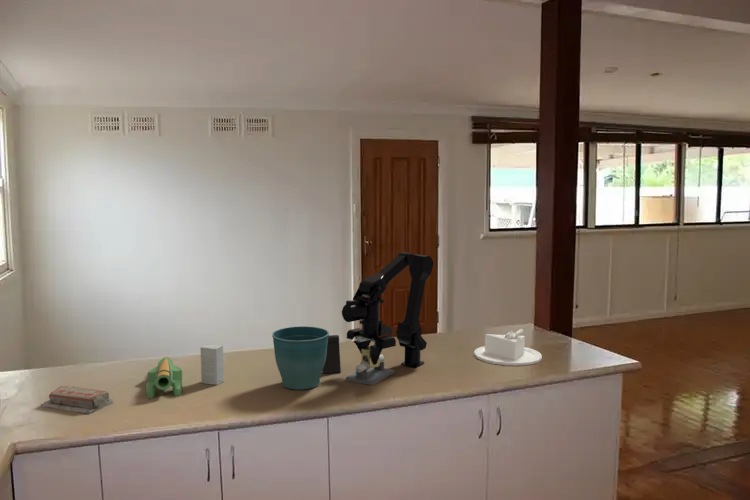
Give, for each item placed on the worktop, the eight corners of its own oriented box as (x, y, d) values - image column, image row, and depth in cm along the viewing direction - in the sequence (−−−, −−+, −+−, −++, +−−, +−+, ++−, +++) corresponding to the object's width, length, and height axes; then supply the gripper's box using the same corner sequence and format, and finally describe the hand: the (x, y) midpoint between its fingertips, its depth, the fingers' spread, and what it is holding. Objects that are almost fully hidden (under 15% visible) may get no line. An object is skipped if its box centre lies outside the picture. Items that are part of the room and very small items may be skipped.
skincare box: (224, 381, 201) (223, 345, 200) (217, 385, 197) (216, 349, 195) (208, 379, 203) (207, 344, 201) (200, 383, 199) (199, 347, 197)
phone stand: (340, 372, 210) (340, 338, 209) (323, 373, 209) (323, 339, 208) (336, 365, 219) (336, 332, 218) (320, 366, 218) (319, 333, 216)
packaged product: (114, 388, 181) (89, 399, 172) (115, 403, 182) (89, 415, 172) (66, 381, 187) (39, 391, 178) (67, 396, 187) (40, 408, 178)
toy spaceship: (150, 368, 215) (149, 348, 214) (182, 366, 218) (181, 346, 217) (145, 399, 184) (144, 376, 183) (182, 396, 187) (181, 372, 187)
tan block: (369, 368, 203) (369, 351, 202) (361, 366, 206) (361, 348, 205) (379, 366, 206) (379, 348, 206) (371, 363, 209) (371, 346, 209)
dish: (549, 354, 235) (551, 325, 234) (528, 370, 214) (529, 339, 213) (489, 344, 249) (490, 317, 247) (463, 359, 228) (464, 329, 226)
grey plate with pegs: (369, 368, 215) (369, 351, 215) (394, 372, 210) (394, 355, 210) (345, 380, 203) (345, 362, 202) (372, 385, 198) (372, 366, 197)
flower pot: (331, 392, 191) (331, 338, 189) (273, 395, 188) (272, 341, 186) (326, 374, 208) (326, 325, 207) (272, 377, 205) (272, 327, 204)
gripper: (407, 318, 203) (407, 364, 205) (369, 309, 217) (369, 352, 218) (383, 323, 195) (383, 371, 197) (345, 314, 209) (345, 359, 211)
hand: (370, 363), depth 206 cm, fingers closed on tan block, 4 cm apart
